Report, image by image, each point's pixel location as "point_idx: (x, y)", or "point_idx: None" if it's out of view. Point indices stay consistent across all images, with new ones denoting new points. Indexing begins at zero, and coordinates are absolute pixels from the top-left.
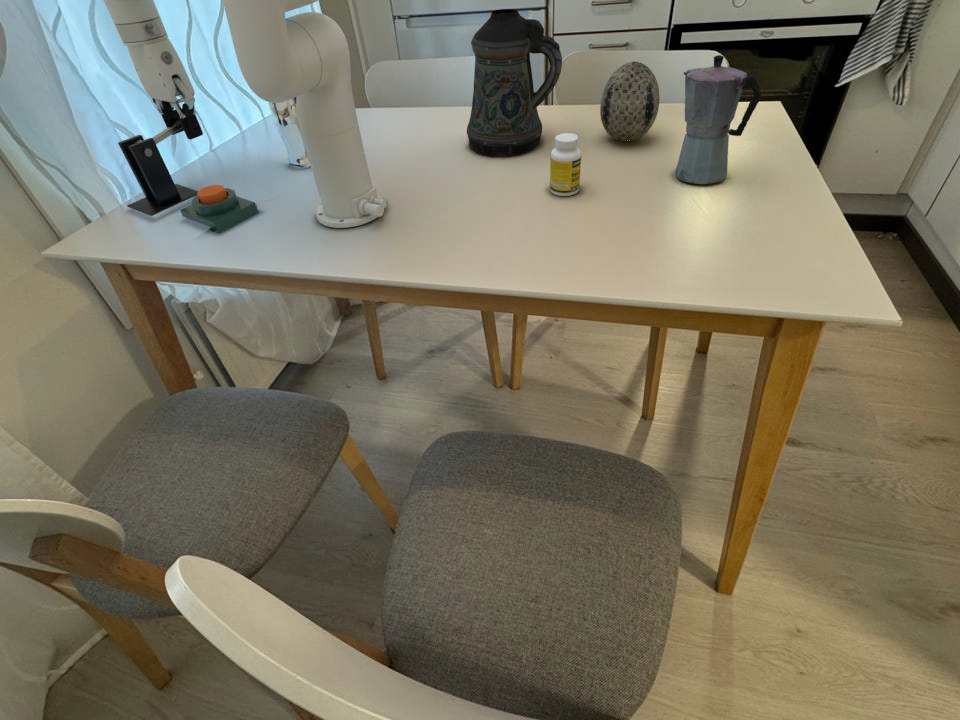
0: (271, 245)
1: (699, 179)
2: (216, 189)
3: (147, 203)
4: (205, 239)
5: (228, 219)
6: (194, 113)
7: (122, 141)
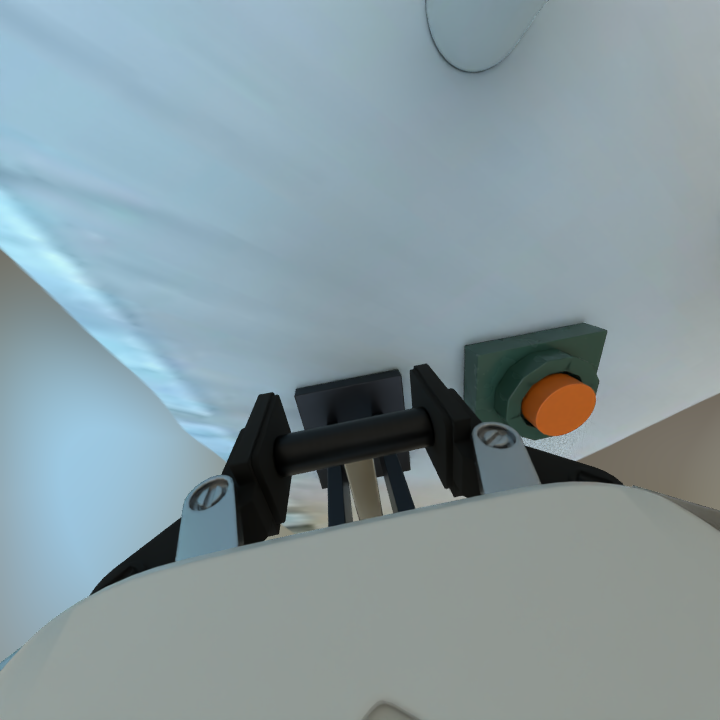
0: (684, 365)
1: None
2: (577, 401)
3: None
4: None
5: None
6: (506, 433)
7: None
